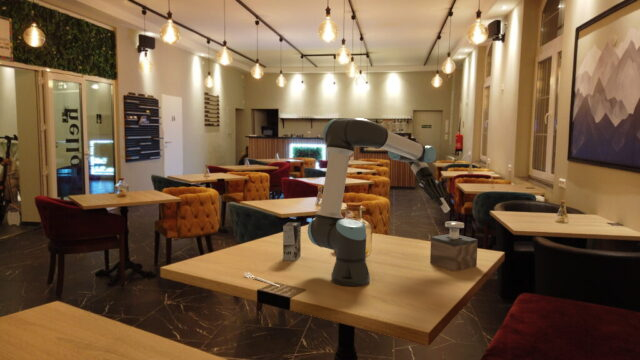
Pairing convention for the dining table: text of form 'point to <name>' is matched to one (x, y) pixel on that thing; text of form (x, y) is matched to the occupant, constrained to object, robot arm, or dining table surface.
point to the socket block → (453, 252)
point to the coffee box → (291, 241)
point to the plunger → (454, 229)
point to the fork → (258, 278)
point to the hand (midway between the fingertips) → (447, 210)
